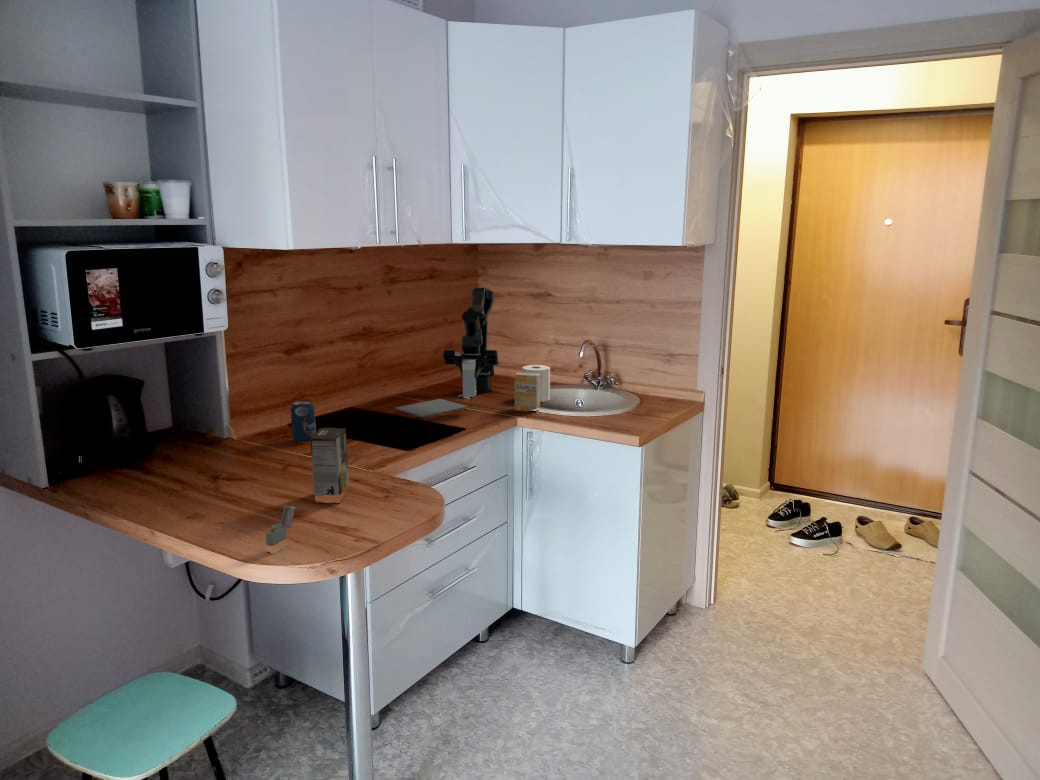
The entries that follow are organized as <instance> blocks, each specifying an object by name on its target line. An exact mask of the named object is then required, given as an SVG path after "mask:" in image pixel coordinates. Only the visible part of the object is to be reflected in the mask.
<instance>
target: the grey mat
mask: <svg viewBox="0 0 1040 780" xmlns="http://www.w3.org/2000/svg"><path fill="white" fill-rule="evenodd" d="M464 408H465V409H468V408H469V406H468V405H464V404H461V403H457V402H453V401H449V400H446V399H442V398H437V399H433V400H428V401H422V402H417V403H412V404H407V405H402V406H397V407H395V408H394V409H395V410H397V411H399V412H402V413H406V414H409V415H412V416H415V417H419V418H422V419H423V418H427V417H433V416H437V415H441V413H442V414H445V413H444V412H446V413H450V412H449V411H451V412H455V411H454V410H456V411H460V410H465V409H464ZM436 414H437V415H436Z"/></svg>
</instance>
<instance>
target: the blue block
mask: <svg viewBox="0 0 1040 780" xmlns="http://www.w3.org/2000/svg"><path fill="white" fill-rule="evenodd" d="M475 369H476V360H463V362H462V370H463V378H462V397H463V398H475V397H476V395H477V392H476V378H475V377H474V376H475Z"/></svg>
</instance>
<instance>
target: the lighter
mask: <svg viewBox="0 0 1040 780" xmlns="http://www.w3.org/2000/svg"><path fill="white" fill-rule="evenodd" d="M295 512H296V507H295V506H292V505H291V506H290V505H284V508H283V511H282V516H281V519H280V523H274V524H273V525H270V529H269V530H268V531H265V542H266V546H267V545H269V546H274V545H276V544H278V543H279V542H281V541H283V540H285V539H287V530H286V529H287V528H291V527H292V523H293V519H294V514H295ZM287 540H288V539H287Z"/></svg>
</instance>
